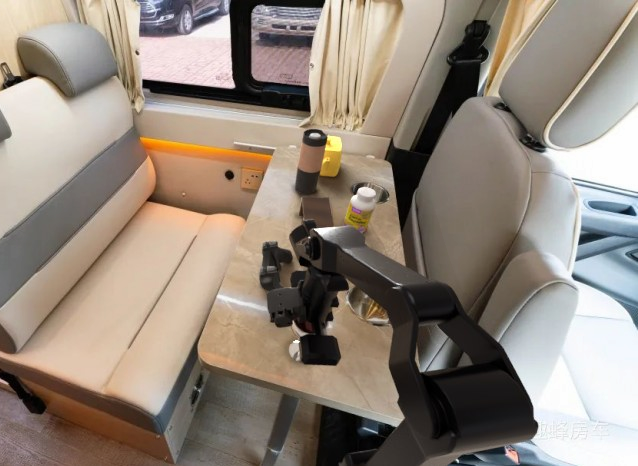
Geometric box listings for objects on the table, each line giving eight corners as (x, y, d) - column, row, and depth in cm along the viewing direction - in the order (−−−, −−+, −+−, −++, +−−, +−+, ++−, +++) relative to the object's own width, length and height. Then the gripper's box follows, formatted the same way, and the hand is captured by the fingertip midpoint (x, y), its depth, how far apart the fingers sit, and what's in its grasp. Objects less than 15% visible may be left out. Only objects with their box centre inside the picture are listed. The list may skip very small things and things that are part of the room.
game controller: (271, 260, 92) (256, 235, 86) (294, 255, 89) (280, 229, 84) (267, 309, 80) (250, 283, 75) (294, 304, 77) (278, 277, 72)
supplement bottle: (340, 230, 97) (351, 194, 89) (345, 217, 102) (356, 182, 93) (363, 237, 95) (377, 201, 86) (367, 224, 99) (381, 188, 91)
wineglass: (312, 372, 65) (324, 341, 57) (280, 357, 68) (287, 325, 60) (321, 344, 70) (333, 312, 62) (290, 331, 72) (298, 298, 64)
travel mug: (292, 192, 112) (301, 137, 99) (295, 180, 117) (304, 127, 104) (315, 196, 110) (327, 141, 97) (317, 184, 116) (329, 130, 102)
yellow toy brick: (339, 184, 116) (347, 154, 108) (303, 180, 118) (309, 150, 110) (337, 157, 130) (344, 128, 122) (305, 153, 132) (311, 125, 124)
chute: (341, 276, 84) (348, 257, 79) (310, 275, 84) (315, 256, 80) (324, 214, 103) (328, 196, 98) (298, 214, 103) (301, 196, 99)
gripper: (269, 247, 62) (262, 297, 72) (275, 335, 48) (266, 382, 59) (328, 249, 61) (313, 299, 72) (352, 339, 48) (329, 385, 58)
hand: (305, 337), depth 65 cm, fingers open, 9 cm apart
